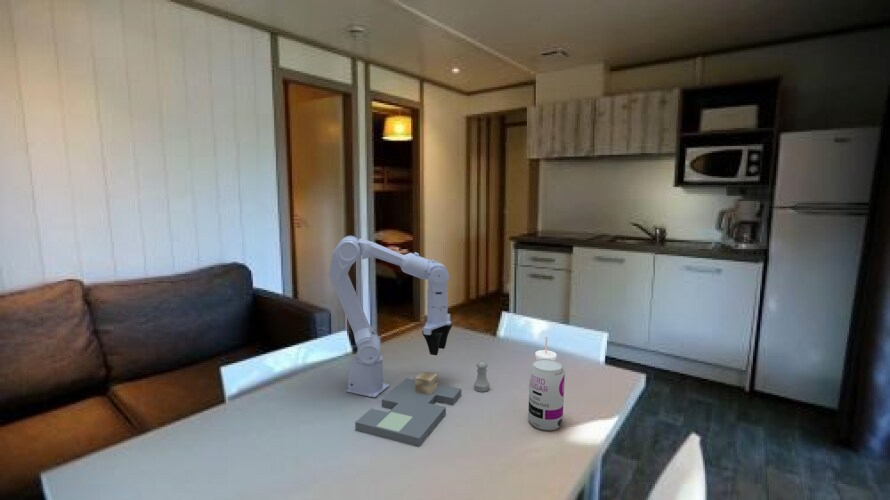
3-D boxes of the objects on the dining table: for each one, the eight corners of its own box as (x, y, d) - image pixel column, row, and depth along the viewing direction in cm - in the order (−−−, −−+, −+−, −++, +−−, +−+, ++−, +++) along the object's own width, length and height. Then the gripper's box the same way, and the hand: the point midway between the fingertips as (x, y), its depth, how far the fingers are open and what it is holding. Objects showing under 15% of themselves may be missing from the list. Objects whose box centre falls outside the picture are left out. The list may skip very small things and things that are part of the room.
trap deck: (355, 429, 103) (355, 422, 102) (406, 384, 126) (406, 377, 126) (419, 446, 96) (419, 438, 96) (461, 395, 120) (461, 388, 119)
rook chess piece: (488, 393, 121) (489, 366, 120) (472, 391, 122) (473, 364, 121) (490, 386, 125) (490, 359, 124) (474, 384, 126) (475, 358, 125)
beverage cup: (532, 385, 126) (534, 339, 124) (536, 376, 131) (537, 332, 129) (553, 389, 124) (555, 342, 122) (556, 380, 129) (558, 335, 127)
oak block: (415, 391, 117) (415, 378, 117) (422, 385, 122) (422, 371, 121) (430, 395, 116) (430, 380, 115) (437, 387, 120) (437, 374, 119)
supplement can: (563, 417, 108) (565, 360, 106) (561, 434, 101) (563, 373, 99) (530, 411, 111) (532, 356, 109) (526, 428, 103) (527, 369, 101)
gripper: (440, 313, 114) (440, 362, 116) (459, 300, 127) (459, 344, 129) (416, 310, 117) (416, 358, 119) (437, 298, 130) (438, 341, 132)
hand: (437, 351), depth 124 cm, fingers open, 5 cm apart
